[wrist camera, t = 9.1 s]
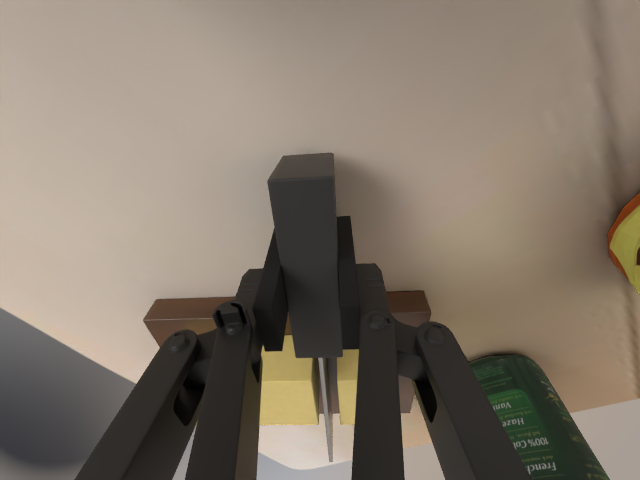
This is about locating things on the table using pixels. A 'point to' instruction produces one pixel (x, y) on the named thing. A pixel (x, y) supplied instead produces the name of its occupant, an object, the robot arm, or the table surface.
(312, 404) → the butter block
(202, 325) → the board
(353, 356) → the butter pat
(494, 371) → the coffee jar
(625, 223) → the cheeseburger
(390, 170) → the table surface
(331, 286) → the knife
